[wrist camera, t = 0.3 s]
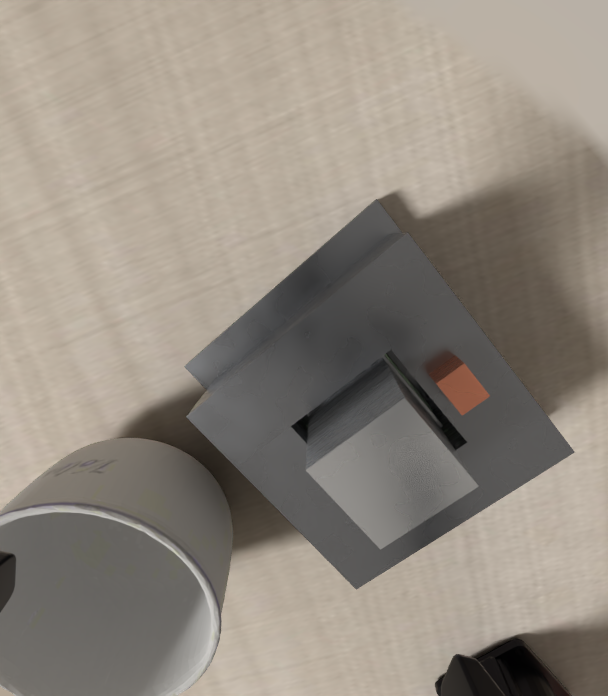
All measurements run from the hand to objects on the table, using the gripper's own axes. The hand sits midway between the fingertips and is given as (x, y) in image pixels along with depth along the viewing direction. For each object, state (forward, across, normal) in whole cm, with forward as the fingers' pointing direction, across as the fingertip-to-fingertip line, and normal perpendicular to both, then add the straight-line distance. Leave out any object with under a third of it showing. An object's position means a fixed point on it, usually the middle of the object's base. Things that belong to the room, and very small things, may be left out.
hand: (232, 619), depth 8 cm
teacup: (+14, +7, +10) cm, 18 cm away
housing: (+13, -4, -1) cm, 14 cm away
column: (+12, -4, -1) cm, 13 cm away
